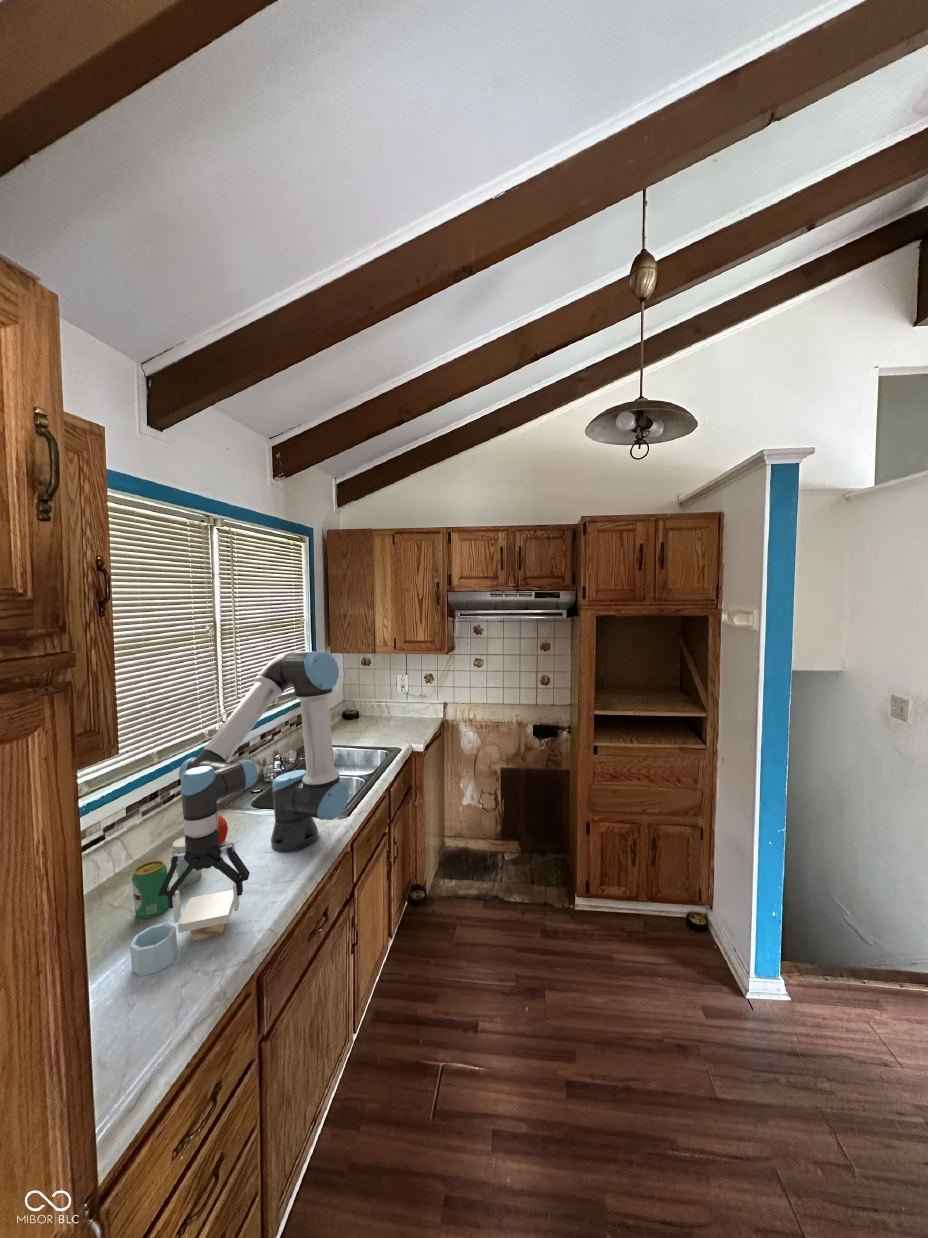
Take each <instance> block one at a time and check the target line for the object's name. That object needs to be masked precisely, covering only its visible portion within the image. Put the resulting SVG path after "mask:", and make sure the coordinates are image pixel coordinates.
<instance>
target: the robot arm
mask: <svg viewBox="0 0 928 1238" xmlns="http://www.w3.org/2000/svg"><path fill="white" fill-rule="evenodd" d="M339 671H340V669H339V665H338V663H337V661H336V659H335V658H334V657H333V656H332V655H331V654H330V653H327V652H325V651H323V652H322V651H317V650H313V651H312V650H311V651H294V650H293V651H287V652H283V653H282V654H280V655H277V656H276V657H274V658H273V659H272V660H271V661H270V662H268V663H267V664H266V665H265V666H264V667H263V668H262V670H261V671H260V672H259V673H258V674H257V676H255V678H254V680H253V681H254V682H253V683H254V684H253V685H252V687H251V688H250V689H249V691H248V692H247V693H246V695H245V696H244V697H243V698H242V700H241V701H240V702H239V703H238V704H237V706H236V707H235V708H234V710H233V711H232V712H231V714H230V715H228V717H227V719H226V720H225V721H224V722H223V724H222V725H221V726H220V728H219V729H218V730H217V731H216V733H215V734H214V735H213V736H212V738H211V739H210V740H209V742H208V743H207V744H206V745H205V747H204V748H203V749H202V751H201V752H200V753H199V754H198V755H197V756H194V757H190V758H188V759H186V760H185V761H184V762H183V763H181V765H180V767H179V770H178V777H179V780H180V796H181V804H182V806H181V807H182V816H183V819H182V820H183V833H184V836H185V849H186V853H184V854H179V852H175V853H174V855H173V854H172V857H171V859H170V867H169V869H168V870H167V873H168V874H167V876H166V878H165V880H164V883H163V885H162V887H161V889H160V891H159V896H163V895H166V896H167V897H168V905H169V906H168V909H169V910H173V921H174V922H173V923H174V924H177V923H179V921H180V919H181V917H182V913H181V900H180V899H181V898H180V890H178V889H179V887H181V883H182V882H183V881H184V879H185V878H186V877H187V875H188V874H189V873H190V872H191V871H192V869H196V870H201V869H202V870H205V869H206V870H208V869H211V868H212V867H213V868H215V869H216V870H219V871H220V872H221V873H222V874H223V875H225V876H226V877H227V878H228V879H229V880H231V881H232V882H233V885H232V890H233V897H234V907H233V910H234V912H238V911H239V908H240V905H241V904H240V897H241V896H242V894H243V892H244V885H243V882H244V881H247V880H249V877H250V874H251V873H250V871H249V869H248V868H247V867H246V864H244V862H243V861H242V859H241V858H240V856H239V855H238V853H237V851H236V849H235V846H234V843H232V842H230V843H228V845H225V846H221V845H220V842H219V829H218V828H217V827H218V815H219V814H218V801H221V800H223V799H225V798H228V797H229V796H233V795H235V794H238V793H239V792H241V791H245V790H246V789H248V788H250V787H252V786H254V785H255V784H256V782H257V781H258V778H259V777H258V776H259V775H258V767H257V766H256V765H255V763H254V762H253V761H251V760H250V759H243V760H238V761H236V762H232V763H231V762H229V760H231V758H232V757H233V755H234V754H235V752H236V751H237V750H238V748H239V747H240V746H241V745H242V743H244V740H245V739H246V738H247V736H248V735H249V733H250V732H251V731H252V729H253V728H254V727H255V726H256V725H257V723H258V721H259V720H260V719H261V717H262V716H263V714H265V712H266V710H267V709H268V708H269V707H270V705H271V703H273V701H274V700H275V698H279V697H281V696H282V694H283V693H284V692H285V691H286V690H287V689H290V688H293V689H294V697H295V698H296V699H297V700H299V701H300V711H301V712H300V713H301V722H302V723H301V724H302V734H303V735H302V737H303V747H304V748H303V749H304V756H305V760H304V761H305V768H306V769H297V770H292V771H288V772H284V773H282V774H279V775H278V776H277V777H275V778H274V779H273V780H272V790H271V792H272V802H273V812H274V826H273V828H272V829H273V831H272V833H271V839H270V844H271V849H273V850H274V851H275V852H276V851H277V852H280V853H289V852H290V853H291V852H297V851H300V850H303V849H306V848H307V847H309V846H312V845H313V844H314V843H315V842H317V840H318V839H319V830H318V827H317V824H316V821H315V820H314V818H315V819H319V820H321V821H323V820H325V821H332V820H335V819H337V818H338V817H340V815H341V814H342V813H343V812H344V810H345V808H346V806H347V804H348V801H349V795H350V793H349V788H348V786H347V785H346V784H345V783H344V782H341V779H340V777H341V776H340V772H339V771H338V770H336V769H335V765H334V754H333V753H334V751H333V741H332V729H331V728H332V727H331V719H330V718H331V716H330V704H329V697H330V696H331V694H332V693H333V692H334V691H333V688H334V687H335V686H336V685H337V683H338V680H339V677H340V672H339ZM222 854H224V855H225V856H226V857H227V858H228V859H229V861H230V862H231V864H232V865H233V867H234V868H235V869H234V868H233V867H232V866H231V865H230V864H228V863H227V862H226V861H225V860H224V858H223V857H222V856H221V855H222ZM183 859H184V860H185V861H186V862H187V863H188V866H187V867H186V869H185V870H184V871H183V872H182V874H181V875H180V876H179V878H178V877H177V879H176V880H175V881H174V883H173V884H172V885H171V886H170V883H171V882H172V881H171V880H172V879H173V876H174V874H175V871H177V870H176V868H177V865H178V864H179V863H181V861H182V860H183ZM168 885H169V887H168Z"/></svg>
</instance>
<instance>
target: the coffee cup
mask: <svg viewBox="0 0 928 1238" xmlns="http://www.w3.org/2000/svg"><path fill="white" fill-rule="evenodd" d="M170 852H171V854H172V856H173V855H174V853H175V852H179V854H184V853H186V849H185V835H184V836H181V837H179V838H177V839H176V840H174V841H173V842H172V846H171V849H170ZM187 866H188V863H187V862H186V861H185V860H184V859H183V860H182V861H181V863H179V864H178V865H177V868H176V870H175V871H176V874H177V879H178V878H179V876H180V875H181V874H182V872H183V871H184V870H185V869H186V867H187ZM202 870H203V869H201V870H196V869H192V871H191V872H190V873H189V874H188V875H187V877H186V878H185V879H184V881H183V882H182V883H181V885H182V886H188V885H192V884H193V883H194V884H195V883H196V882H198V881H199V880H201V878H202ZM181 885H180V886H181Z"/></svg>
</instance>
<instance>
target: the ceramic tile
mask: <svg viewBox="0 0 928 1238" xmlns="http://www.w3.org/2000/svg"><path fill="white" fill-rule="evenodd" d="M233 910H234V897H233V889H230V890H229V889H228V890H224V891H220V892H213V893H209V894H203V895H199V896H193V897H190V898H189V899H188V902H187V904H186V907H185V909H184V911H183V913H182V914H181V916H180V919H179V921H178V924H177V928H178V930H177V931H178V933H179V934H180V933H186V932H191V930H195V929H200V928H205V927H209V926H214V925H219V924H224V923H226V924H227V923H228V924H229V922H230V919H231V916H232V913H233Z"/></svg>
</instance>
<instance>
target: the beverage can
mask: <svg viewBox="0 0 928 1238" xmlns="http://www.w3.org/2000/svg"><path fill="white" fill-rule="evenodd" d="M167 874H168V867H167V865H166V864H165V863H164V861H163V860H160V859H159V860H152V861H149V862H146V863H143V864H140V865H139V866H137V867H136V868H135V869H134V871H133V874H132V876H131V881H132V890H133V891H132V892H133V901H134V902H133V903H134V912H135V915H136V916H137V917H138V918H139V919H141V920H147V919H152V918H156V917H158V916H160V915H162V914H163V913H165V911H166V910H168V909H169V905H168V897H167V896H166V895H163V896H159V891H160V889H161V887H162V885H163V883H164V880H165V878H166V876H167ZM168 887H169V888H170V884H169V885H168Z"/></svg>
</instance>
